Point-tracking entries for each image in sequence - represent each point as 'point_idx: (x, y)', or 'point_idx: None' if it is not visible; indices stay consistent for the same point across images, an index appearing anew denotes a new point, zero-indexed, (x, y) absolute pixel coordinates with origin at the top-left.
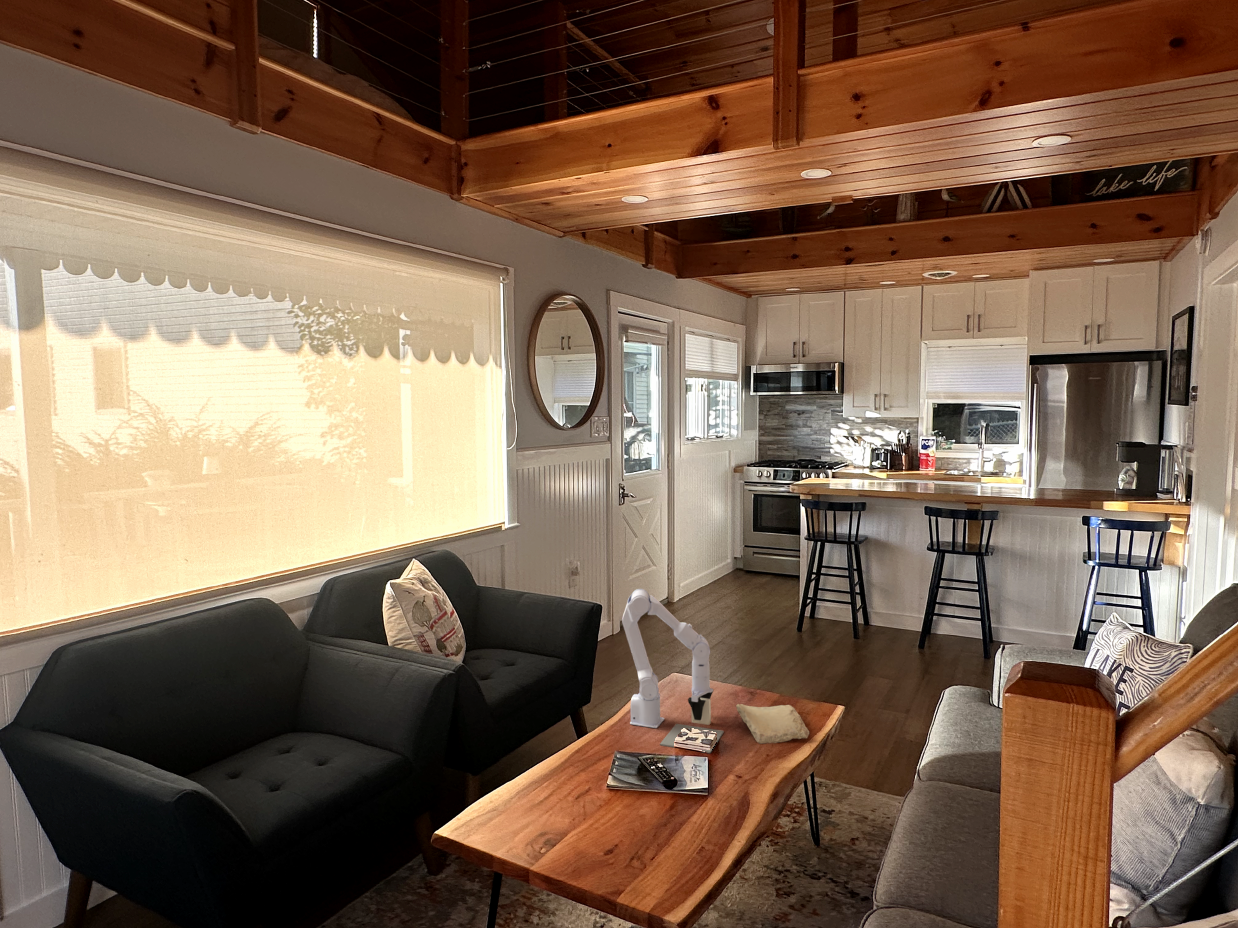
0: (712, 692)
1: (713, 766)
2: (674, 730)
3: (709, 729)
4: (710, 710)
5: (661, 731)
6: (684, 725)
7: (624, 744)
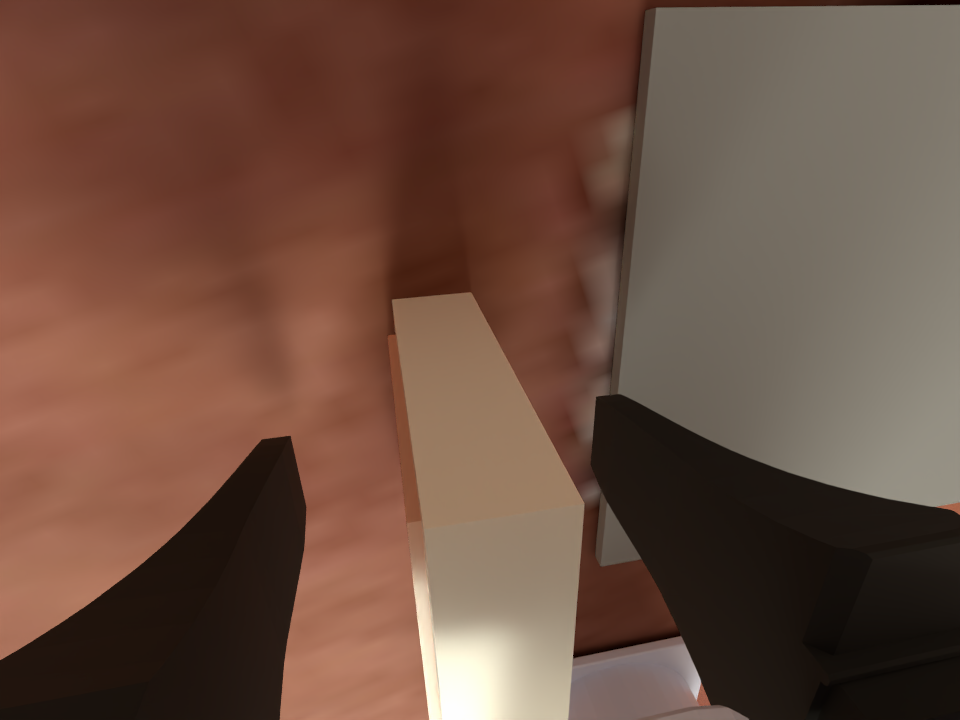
0: (51, 675)
1: None
2: None
3: (656, 226)
4: (416, 375)
5: None
6: None
7: None
